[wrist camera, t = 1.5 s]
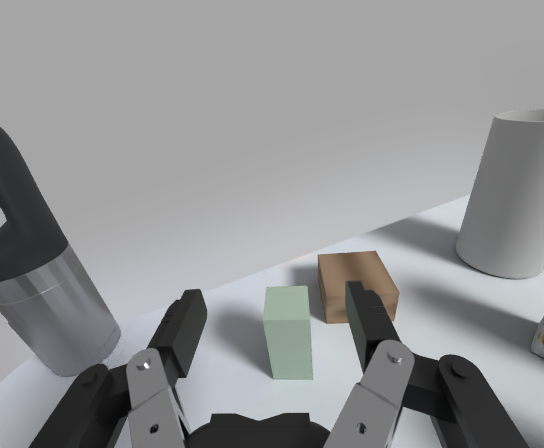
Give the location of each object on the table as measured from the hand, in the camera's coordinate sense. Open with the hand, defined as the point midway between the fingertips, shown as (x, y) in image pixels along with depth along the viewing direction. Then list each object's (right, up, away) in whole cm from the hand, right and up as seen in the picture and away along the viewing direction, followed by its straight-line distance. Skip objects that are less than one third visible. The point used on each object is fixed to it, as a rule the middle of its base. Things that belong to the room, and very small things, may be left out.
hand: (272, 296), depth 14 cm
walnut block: (+14, -9, +28) cm, 33 cm away
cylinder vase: (+42, -3, +33) cm, 53 cm away
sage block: (+3, -14, +20) cm, 25 cm away
